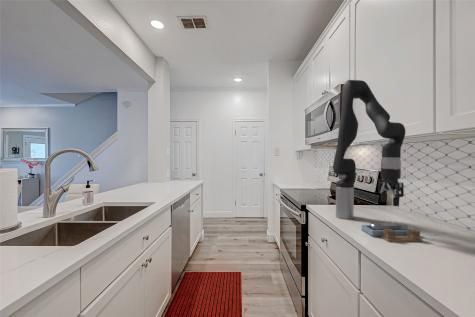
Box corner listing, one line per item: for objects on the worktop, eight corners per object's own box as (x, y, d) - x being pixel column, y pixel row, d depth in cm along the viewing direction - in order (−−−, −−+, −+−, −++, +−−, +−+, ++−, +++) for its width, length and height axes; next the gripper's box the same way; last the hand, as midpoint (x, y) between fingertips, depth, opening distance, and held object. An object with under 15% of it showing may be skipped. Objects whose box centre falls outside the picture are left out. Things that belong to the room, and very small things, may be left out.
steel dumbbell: (368, 230, 111) (368, 222, 111) (403, 230, 111) (403, 223, 111) (374, 234, 106) (374, 226, 106) (410, 234, 106) (411, 226, 106)
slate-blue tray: (361, 230, 113) (361, 224, 113) (404, 230, 113) (404, 225, 113) (372, 236, 104) (372, 230, 104) (419, 237, 104) (419, 231, 104)
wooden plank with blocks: (380, 237, 103) (380, 228, 103) (413, 237, 103) (413, 228, 103) (388, 241, 98) (388, 231, 98) (422, 242, 98) (422, 232, 98)
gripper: (373, 166, 115) (372, 200, 116) (392, 168, 101) (391, 207, 101) (389, 166, 115) (388, 200, 116) (410, 168, 101) (409, 207, 101)
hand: (389, 203), depth 109 cm, fingers open, 8 cm apart
